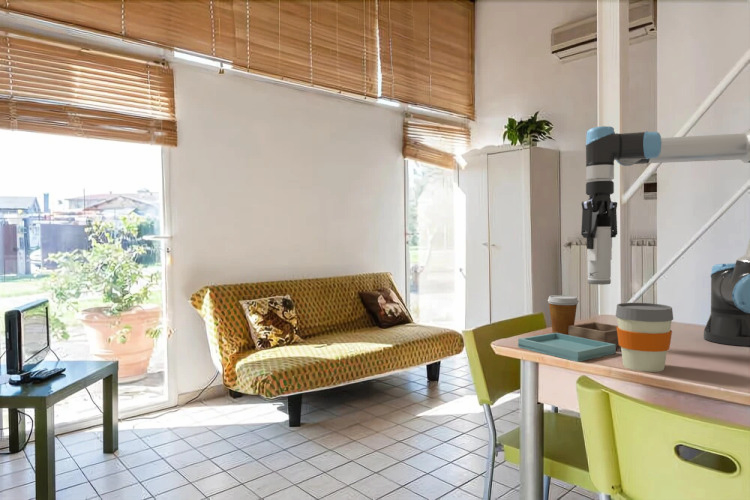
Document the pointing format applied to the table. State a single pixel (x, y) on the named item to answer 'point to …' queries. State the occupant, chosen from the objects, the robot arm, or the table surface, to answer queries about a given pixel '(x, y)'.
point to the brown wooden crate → (596, 332)
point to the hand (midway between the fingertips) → (599, 259)
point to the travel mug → (601, 253)
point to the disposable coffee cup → (562, 312)
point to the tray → (567, 346)
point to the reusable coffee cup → (644, 335)
